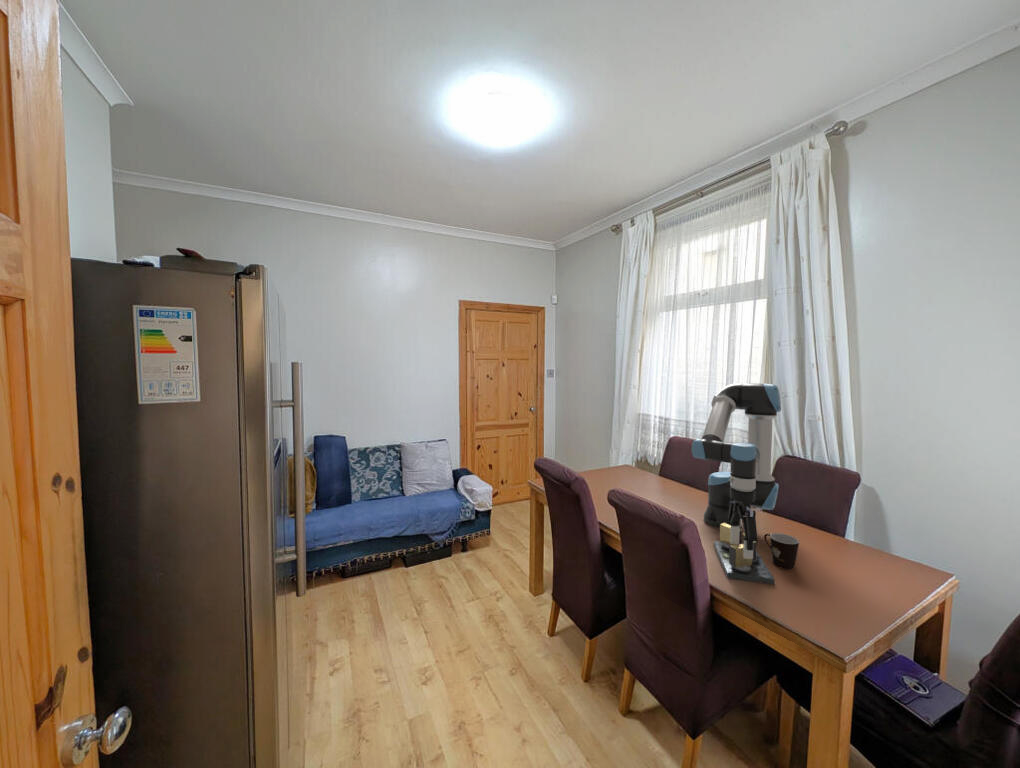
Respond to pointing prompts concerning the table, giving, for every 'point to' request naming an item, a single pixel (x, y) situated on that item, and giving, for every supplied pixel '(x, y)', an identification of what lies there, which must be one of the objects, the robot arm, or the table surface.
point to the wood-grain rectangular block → (755, 556)
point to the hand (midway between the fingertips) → (741, 550)
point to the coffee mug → (783, 550)
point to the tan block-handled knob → (727, 535)
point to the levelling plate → (756, 575)
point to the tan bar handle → (739, 559)
